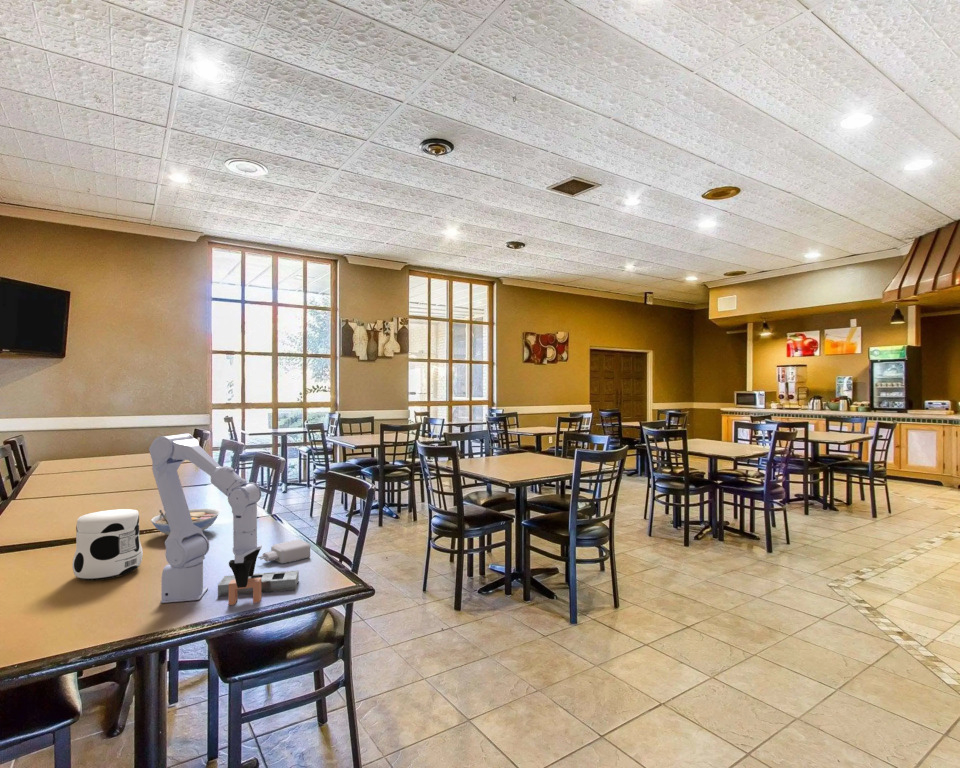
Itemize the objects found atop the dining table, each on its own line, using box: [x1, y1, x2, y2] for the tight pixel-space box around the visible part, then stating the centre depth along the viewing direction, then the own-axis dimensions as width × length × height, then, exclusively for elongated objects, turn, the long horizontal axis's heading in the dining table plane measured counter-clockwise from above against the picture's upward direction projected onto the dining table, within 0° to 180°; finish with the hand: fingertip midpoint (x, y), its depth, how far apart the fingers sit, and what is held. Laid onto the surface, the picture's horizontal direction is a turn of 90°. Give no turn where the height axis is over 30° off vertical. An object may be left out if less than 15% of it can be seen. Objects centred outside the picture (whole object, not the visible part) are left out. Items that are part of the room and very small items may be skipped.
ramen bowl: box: [150, 508, 220, 536], centre depth 198 cm, size 25×23×8 cm
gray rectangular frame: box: [217, 570, 300, 597], centre depth 146 cm, size 20×7×3 cm, turn 102°
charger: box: [257, 538, 311, 564], centre depth 170 cm, size 5×9×15 cm
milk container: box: [71, 508, 144, 581], centre depth 157 cm, size 17×17×18 cm
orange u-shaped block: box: [228, 577, 262, 606], centre depth 137 cm, size 8×3×6 cm, turn 102°
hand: (245, 581), depth 137 cm, fingers open, 7 cm apart
